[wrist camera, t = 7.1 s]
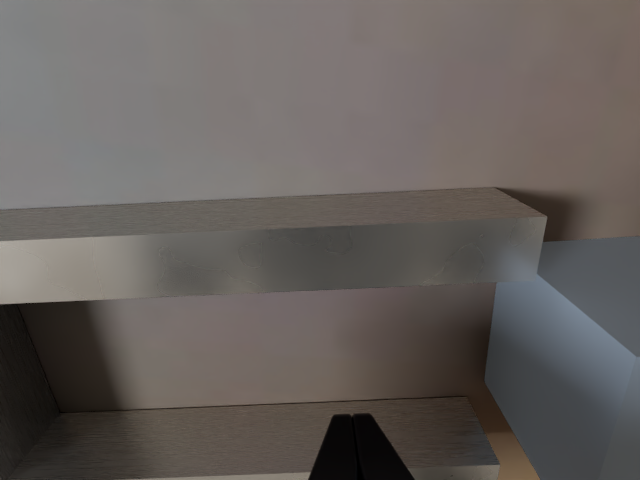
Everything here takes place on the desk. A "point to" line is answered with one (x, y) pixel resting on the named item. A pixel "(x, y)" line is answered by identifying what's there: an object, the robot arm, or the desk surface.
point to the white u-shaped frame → (239, 278)
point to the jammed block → (572, 360)
